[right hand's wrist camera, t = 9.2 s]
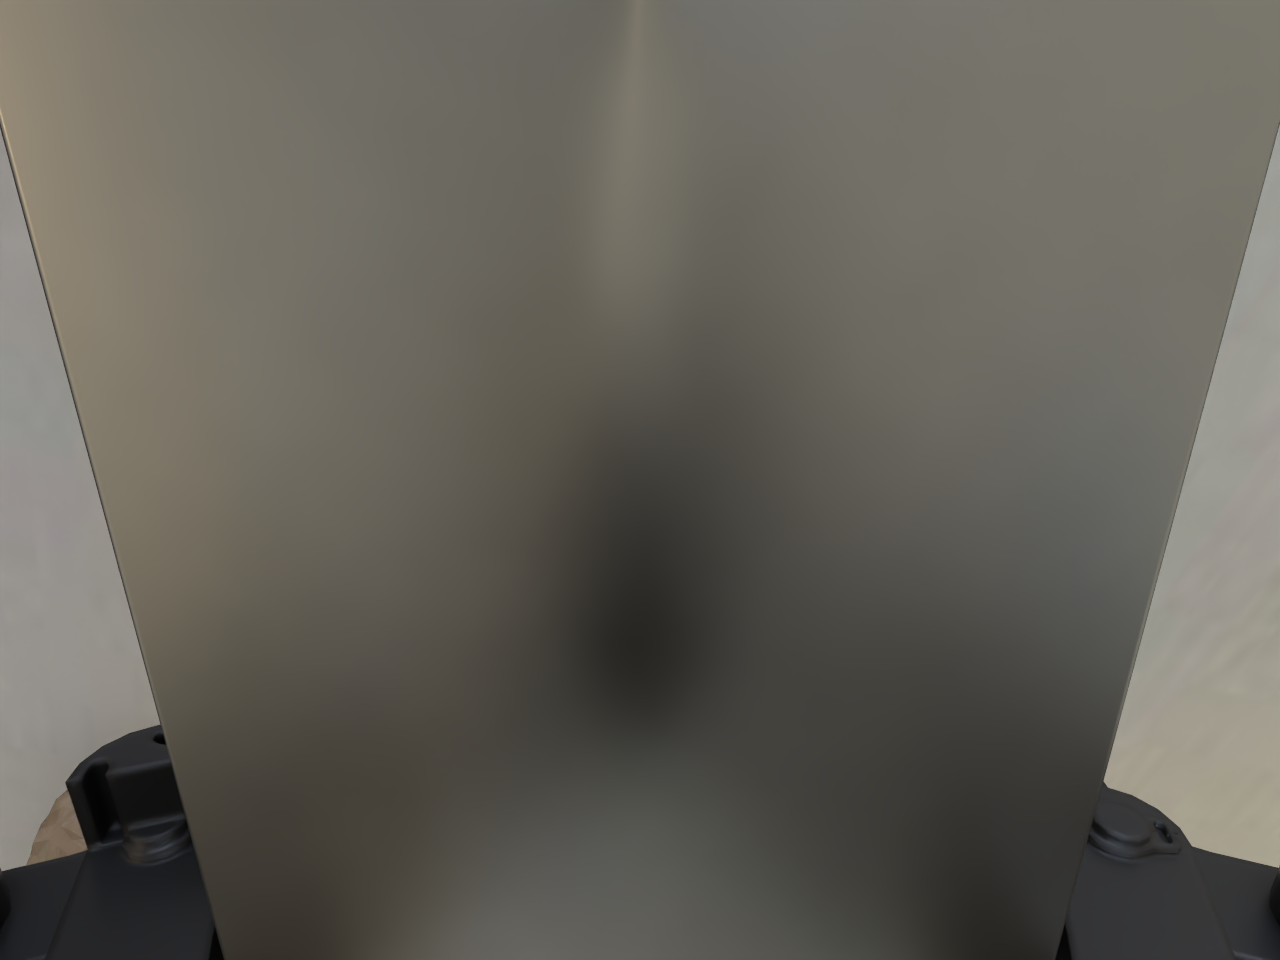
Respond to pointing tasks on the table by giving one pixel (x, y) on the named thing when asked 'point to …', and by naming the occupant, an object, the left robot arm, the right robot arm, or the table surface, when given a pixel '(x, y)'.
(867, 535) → the box
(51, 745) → the table surface
